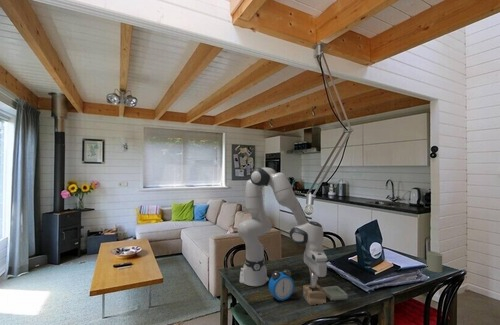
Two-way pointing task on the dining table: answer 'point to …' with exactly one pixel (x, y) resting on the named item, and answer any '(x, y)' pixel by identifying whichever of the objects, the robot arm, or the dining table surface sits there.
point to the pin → (313, 282)
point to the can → (434, 261)
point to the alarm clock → (281, 285)
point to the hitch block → (314, 295)
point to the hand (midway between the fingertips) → (313, 277)
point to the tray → (335, 293)
